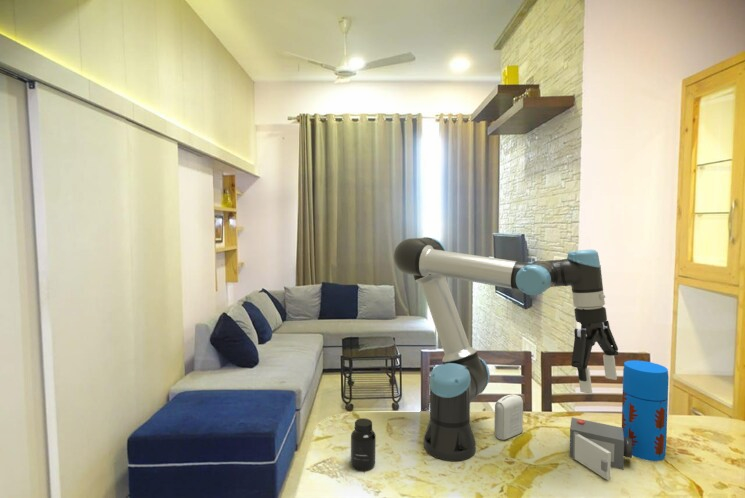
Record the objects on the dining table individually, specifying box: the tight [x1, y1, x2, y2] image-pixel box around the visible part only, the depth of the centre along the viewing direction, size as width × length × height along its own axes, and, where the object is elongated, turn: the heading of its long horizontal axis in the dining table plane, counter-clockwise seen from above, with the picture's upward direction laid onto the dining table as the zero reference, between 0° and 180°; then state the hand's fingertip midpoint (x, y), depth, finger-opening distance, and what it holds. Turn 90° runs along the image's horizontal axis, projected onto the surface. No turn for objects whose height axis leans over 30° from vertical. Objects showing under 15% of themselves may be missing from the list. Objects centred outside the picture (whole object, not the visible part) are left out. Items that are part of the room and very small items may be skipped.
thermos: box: [621, 359, 670, 462], centre depth 116 cm, size 11×11×25 cm
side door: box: [572, 432, 612, 481], centre depth 107 cm, size 11×2×8 cm, turn 21°
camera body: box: [569, 417, 633, 471], centre depth 113 cm, size 15×8×9 cm, turn 61°
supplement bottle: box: [350, 417, 377, 472], centre depth 110 cm, size 7×7×12 cm
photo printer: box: [494, 394, 524, 441], centre depth 126 cm, size 10×4×12 cm, turn 123°
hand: (599, 385), depth 108 cm, fingers open, 13 cm apart
